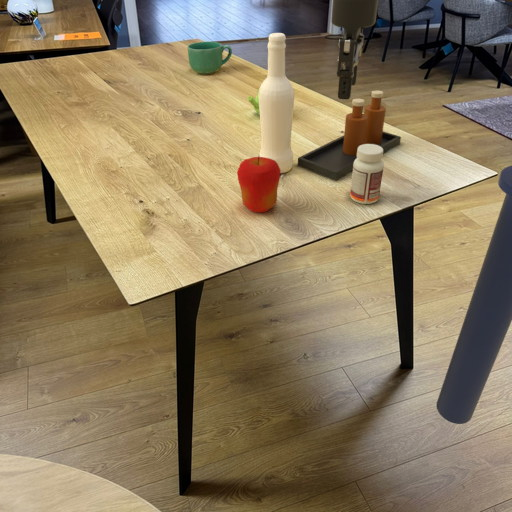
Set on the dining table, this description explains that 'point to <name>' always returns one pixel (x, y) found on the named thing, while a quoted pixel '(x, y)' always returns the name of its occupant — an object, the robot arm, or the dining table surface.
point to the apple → (259, 183)
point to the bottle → (276, 107)
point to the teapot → (255, 102)
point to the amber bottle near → (355, 128)
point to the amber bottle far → (375, 119)
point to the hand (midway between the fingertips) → (346, 91)
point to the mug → (207, 56)
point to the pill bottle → (367, 174)
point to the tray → (339, 157)
